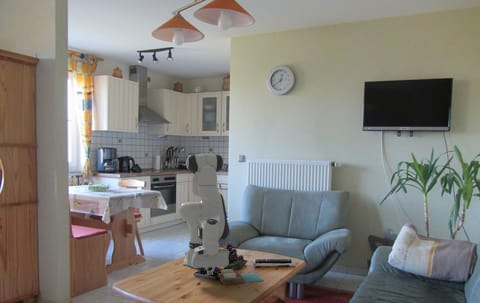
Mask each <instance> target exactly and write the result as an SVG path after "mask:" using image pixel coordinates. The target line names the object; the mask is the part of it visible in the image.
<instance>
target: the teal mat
mask: <svg viewBox="0 0 480 303" xmlns="http://www.w3.org/2000/svg"><path fill="white" fill-rule="evenodd" d="M239 274H240V276H241V277H242V278H243V282H245V283H255V282H256V283H257V282H263V281H264V279H263V278H262V277H261V276H260V275H259V274H258V273H257V272H255V273H252V272H251V273H239Z"/></svg>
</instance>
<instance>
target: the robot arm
mask: <svg viewBox="0 0 480 303" xmlns="http://www.w3.org/2000/svg"><path fill="white" fill-rule="evenodd" d="M223 166H224V159H223V156H222V155H220V154H213V153H199V154H198V153H197V154H194V153H193V154H189V155H188V156H187V159H186V160H185V167H186V169H187V171H188V172H190V173H192V177H191V178H192V179H191V193H192V195H194V196H195V197H197V198H199V199H200V201H188V202H183V203H181V204H180V206H179V208H178V215H179V217H180V218H181V219H182V220H183V221H184V222H185V223H186V224H187V225H188V228H189V241H188V242H189V243H188V249H187V251H185V252H184V255H185V256H184V260H183V262H182V264H183V266H187V267H191V268H193V269H201V268H204V269H205V270H206V275H207V276H213V275H214V271H215V269H216V267H217V268H218V267H228V266H229V264H230V262H229V261H230V260H229V255H230V251H229V249H227V248H219V247H220V244H219V241H220V240H224V241H225V240H226V239H227V238H228V237H229V236H230V232H231V229H230V226H229V222H228V216H227V211H226V203H225V200H224V197H223V194H222V193H220V191H219V189H218V176H217V172H220V171H221V170H223ZM215 218H216V219H215ZM217 218H218V220H219V221H218V220H217ZM200 220H203V221H204V222H201V223H200V222H199V221H200ZM209 268H212V269H211V270H209Z"/></svg>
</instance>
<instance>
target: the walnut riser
mask: <svg viewBox="0 0 480 303" xmlns="http://www.w3.org/2000/svg"><path fill="white" fill-rule="evenodd" d="M233 271H234V272H235V274H236V278H229V279H225V278H224V276H223V275H222V273H219V276H220V279H219V280H220V283H221V284H222V285H223V286H230V285H232V286H233V285H243V284H244V279H243V278H242V277H241V276H240V274H241V273H239V272H238V271H237V270H233Z"/></svg>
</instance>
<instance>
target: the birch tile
mask: <svg viewBox="0 0 480 303" xmlns="http://www.w3.org/2000/svg"><path fill="white" fill-rule="evenodd" d="M234 271H235V270H233V268H228V269H227V268H226V269H221V270H220V272H221V273H222V275H223V276H224V278H225V279H229V278H236V274H235V272H234Z"/></svg>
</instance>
